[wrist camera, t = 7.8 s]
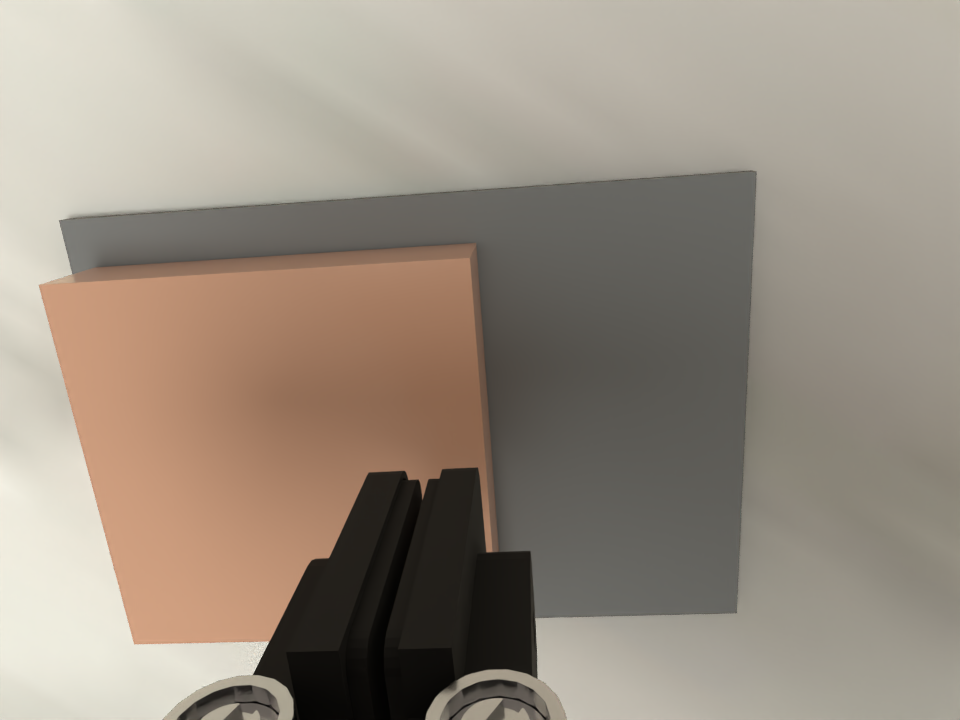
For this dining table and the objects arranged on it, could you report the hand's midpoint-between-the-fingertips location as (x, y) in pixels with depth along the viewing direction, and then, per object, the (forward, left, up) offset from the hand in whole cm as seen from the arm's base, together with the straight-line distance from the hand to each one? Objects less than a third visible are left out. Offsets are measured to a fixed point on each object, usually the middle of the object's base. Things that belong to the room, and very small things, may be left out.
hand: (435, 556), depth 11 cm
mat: (+1, +1, -5) cm, 5 cm away
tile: (0, 0, -4) cm, 4 cm away
